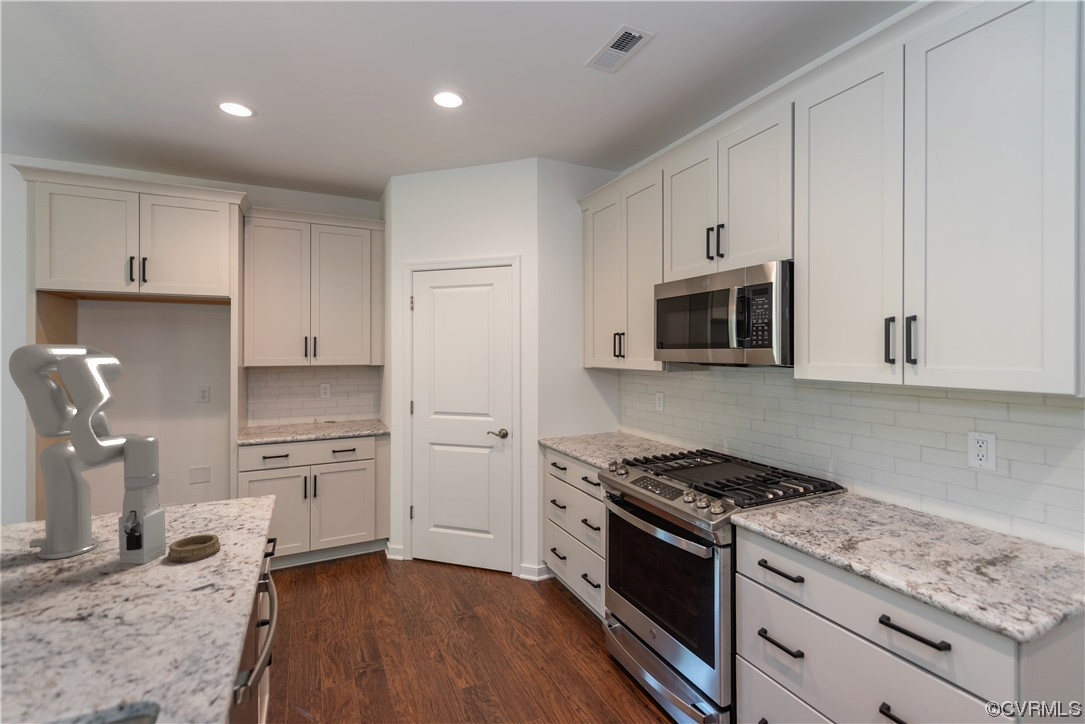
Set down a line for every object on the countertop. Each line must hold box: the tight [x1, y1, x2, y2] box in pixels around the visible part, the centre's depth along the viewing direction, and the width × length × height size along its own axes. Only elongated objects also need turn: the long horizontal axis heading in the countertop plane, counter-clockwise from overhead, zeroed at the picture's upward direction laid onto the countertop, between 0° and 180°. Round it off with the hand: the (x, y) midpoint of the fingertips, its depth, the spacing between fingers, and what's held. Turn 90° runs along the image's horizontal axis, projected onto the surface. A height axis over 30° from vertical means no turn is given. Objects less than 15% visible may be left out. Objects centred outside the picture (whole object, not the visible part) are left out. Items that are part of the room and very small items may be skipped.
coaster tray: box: [167, 533, 221, 564], centre depth 138 cm, size 12×12×4 cm
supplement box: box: [117, 509, 167, 565], centre depth 135 cm, size 7×7×13 cm
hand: (143, 542), depth 135 cm, fingers closed on supplement box, 9 cm apart
